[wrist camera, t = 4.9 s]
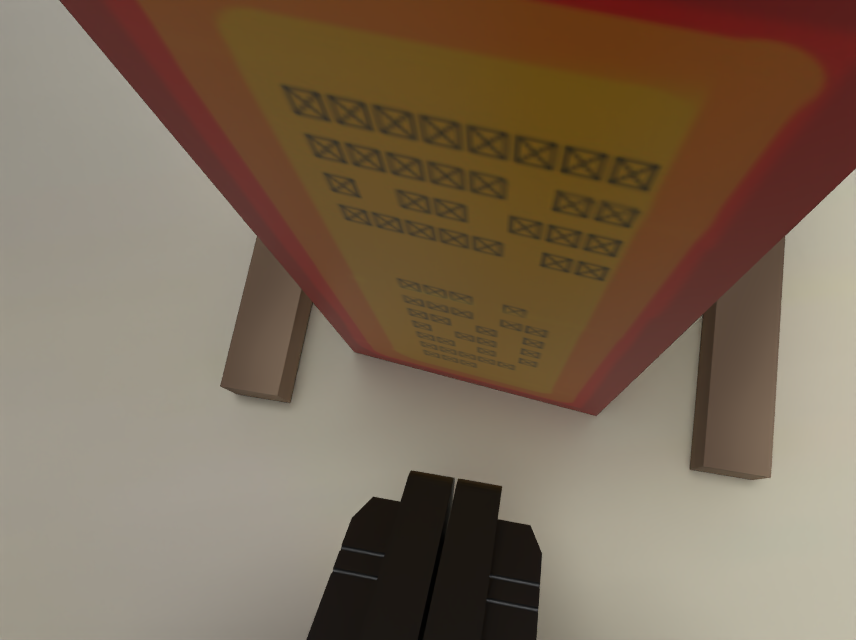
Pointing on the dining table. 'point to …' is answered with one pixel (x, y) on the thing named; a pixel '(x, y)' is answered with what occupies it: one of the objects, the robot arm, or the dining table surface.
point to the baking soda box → (504, 161)
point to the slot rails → (717, 375)
